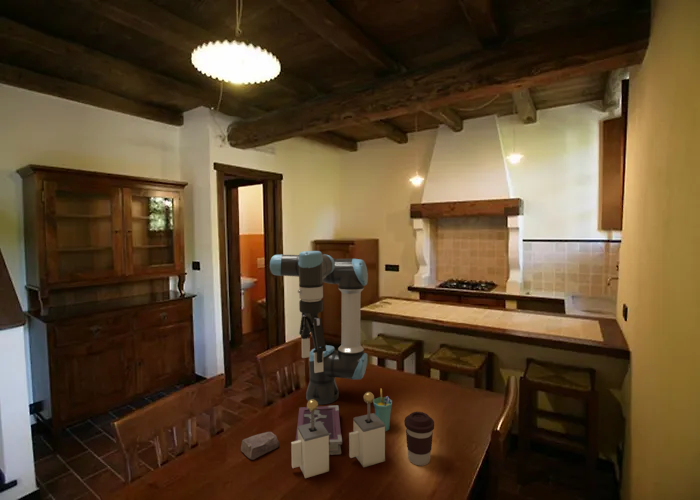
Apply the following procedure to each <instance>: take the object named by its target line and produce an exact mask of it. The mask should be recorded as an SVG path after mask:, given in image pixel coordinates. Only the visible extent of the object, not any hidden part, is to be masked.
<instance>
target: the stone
mask: <svg viewBox="0 0 700 500" xmlns="http://www.w3.org/2000/svg"><path fill="white" fill-rule="evenodd" d="M279 447H280V442H279V440H278V437H277V435H276V434H274V433H273V432H272V431H266V432H262V433H258V434H254V435H252V436H249V437H246V438H243V439H242V440H241V445H240V451H241V453H243V454H244V455H245V456H246V457H247V458H248V459H249V460H250V461H251V460H252V461H253V460H256V459H257V458H260V457H261V456H263V455H265V454H268V453H270V452H272V451H273V450H275V449H278V448H279Z"/></svg>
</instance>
